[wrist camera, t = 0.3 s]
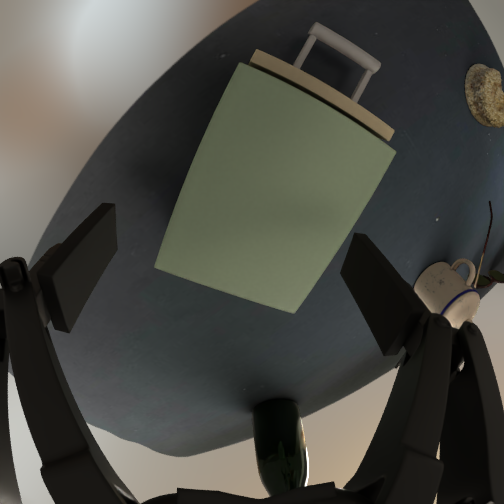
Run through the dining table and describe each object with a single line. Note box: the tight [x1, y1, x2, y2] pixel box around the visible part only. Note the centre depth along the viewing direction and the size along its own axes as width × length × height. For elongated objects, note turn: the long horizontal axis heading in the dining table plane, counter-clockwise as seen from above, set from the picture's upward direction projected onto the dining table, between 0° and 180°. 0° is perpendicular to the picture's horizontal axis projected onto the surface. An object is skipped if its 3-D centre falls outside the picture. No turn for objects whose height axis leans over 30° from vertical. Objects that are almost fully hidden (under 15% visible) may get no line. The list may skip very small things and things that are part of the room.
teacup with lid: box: [414, 258, 480, 329], centre depth 35 cm, size 12×9×12 cm
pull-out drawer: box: [248, 22, 394, 141], centre depth 24 cm, size 23×13×7 cm, turn 155°
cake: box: [465, 64, 504, 128], centre depth 22 cm, size 10×10×5 cm
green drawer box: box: [154, 62, 396, 314], centre depth 26 cm, size 19×15×9 cm
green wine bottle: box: [252, 399, 309, 497], centre depth 41 cm, size 10×10×33 cm
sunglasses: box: [468, 201, 504, 288], centre depth 36 cm, size 14×15×5 cm
